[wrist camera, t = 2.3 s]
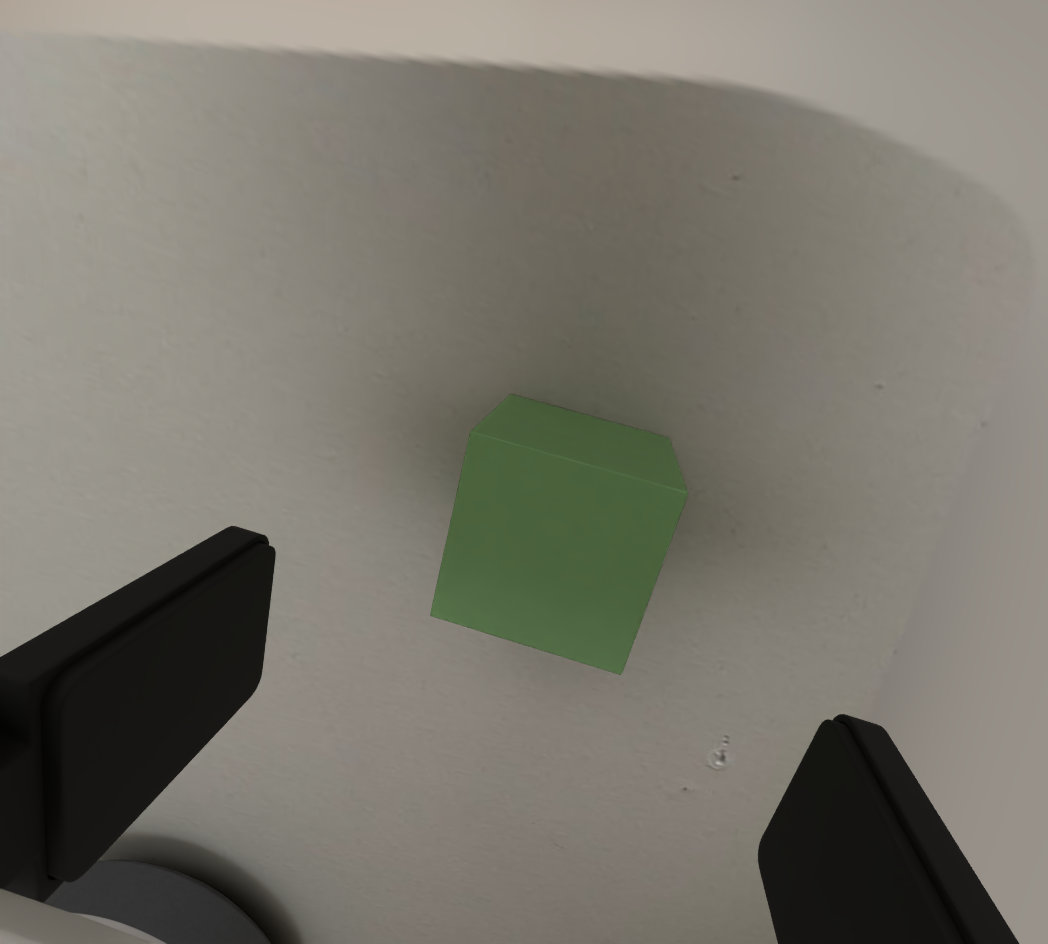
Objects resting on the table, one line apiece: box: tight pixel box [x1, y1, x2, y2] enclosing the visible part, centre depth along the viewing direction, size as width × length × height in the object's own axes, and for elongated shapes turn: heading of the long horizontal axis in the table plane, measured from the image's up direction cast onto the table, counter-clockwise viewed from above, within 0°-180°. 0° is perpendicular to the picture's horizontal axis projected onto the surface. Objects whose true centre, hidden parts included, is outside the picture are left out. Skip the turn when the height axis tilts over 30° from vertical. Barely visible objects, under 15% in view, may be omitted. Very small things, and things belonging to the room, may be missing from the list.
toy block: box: [430, 394, 688, 675], centre depth 16 cm, size 5×5×5 cm
